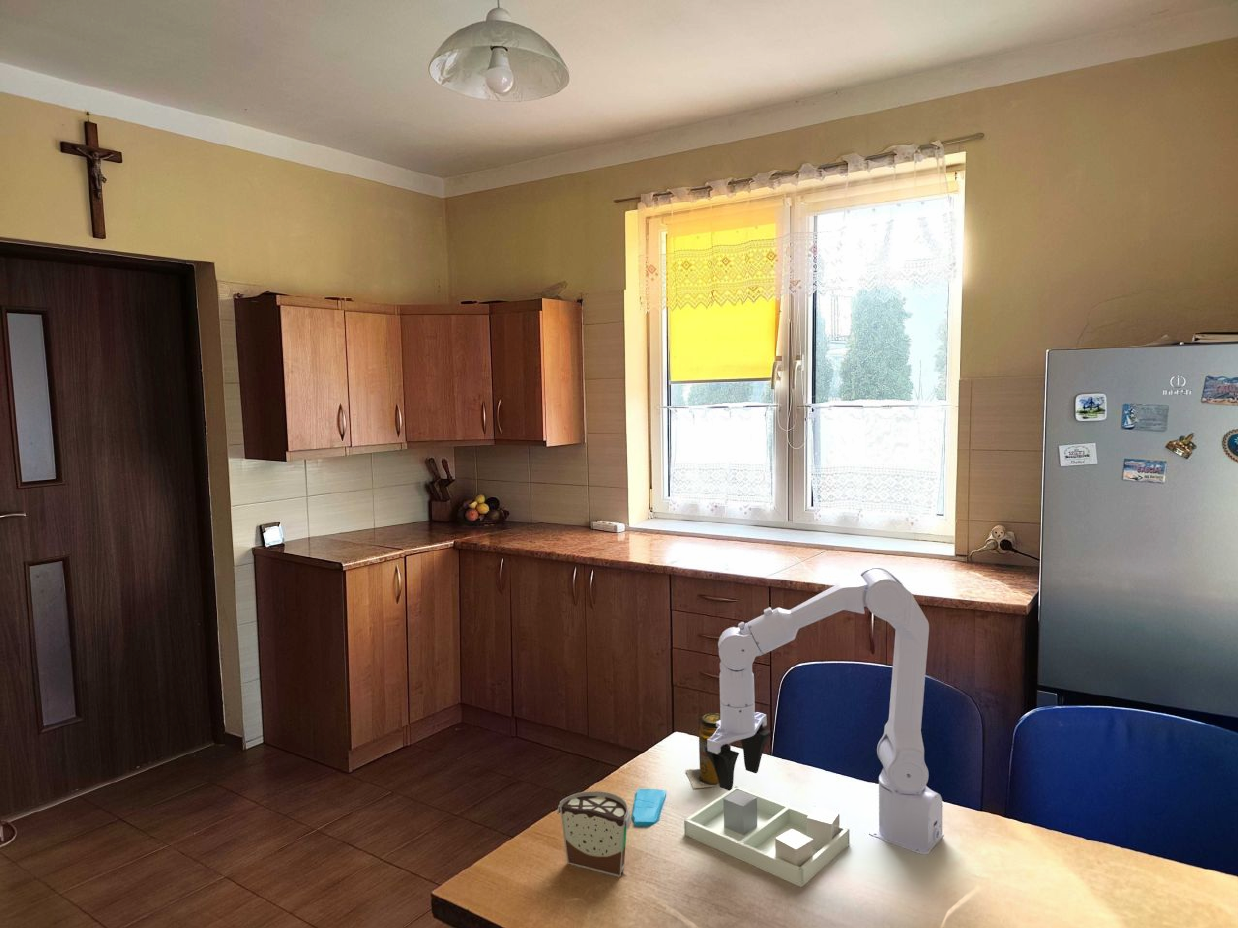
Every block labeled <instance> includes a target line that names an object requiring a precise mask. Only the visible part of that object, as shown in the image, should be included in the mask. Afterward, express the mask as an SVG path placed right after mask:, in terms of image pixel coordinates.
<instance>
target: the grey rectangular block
mask: <svg viewBox="0 0 1238 928" xmlns="http://www.w3.org/2000/svg"><path fill="white" fill-rule="evenodd" d="M756 826H757V797H755V796H752V795H750V794H747V793H745V792H742V791H739V790H736V791H735V792H733V793H732V794H730V795H728V796H727V797H725V798H724V827H725V828H727V829H730V830H732V831H734V832H737V833H739V834H741V835H745V834H747V833H748V832H749V831H751V830H752V829H754V828H755V827H756Z"/></svg>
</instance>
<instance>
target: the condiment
mask: <svg viewBox="0 0 1238 928" xmlns="http://www.w3.org/2000/svg"><path fill="white" fill-rule="evenodd" d="M719 720H721V717H720V713H717V712H715V713H714V712H712V713H706V714H704V715H702V717H701V718H700V730H699V731H698V732H699V733H698V749H699V752H698V753H699V755H698V756H699V758H698V759H699V760H698V761H699V768H696V769H690V768H689V769H685V770H684V771H685V773H686V775H687V778H688V780H689V782H690V784H691V786H692V788H693V789H695V790H696V789H702V788H703V789H704V788H714V787H715V786H717V785H719V782H718V778H717V775H716V772H715V769H714V766H713V764H712V762H711V760H710V758H709V757H708V755H707V754H706V752H705V745H707V739H709V738H710V737H712V735H713V734H714V733H715V731H716V730H717V728H718V727H717V726H716V722H717V721H719ZM731 744H732V743H730V744H729V748H732V747H731Z"/></svg>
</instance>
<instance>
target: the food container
mask: <svg viewBox="0 0 1238 928" xmlns="http://www.w3.org/2000/svg"><path fill="white" fill-rule="evenodd" d="M559 814H560V818H561V819H560V820H561V826H562V832H563V840H564V841H563V842H564V848H565V849H564V850H565V855H566V864H567V865H570V864H571V866H574V865H575V867H579V868H584V869H586V870H590V871H595V872H599V873H603V874H607V875H611V876H615V877H618V878H622V876H623V874H624V870H625V858H626V857H625V856H626V843H627V831H628V830H629V829H630V827H631V824H632V814H631V812H630V808H629V806H628V804H627V802H626V801H625V800H624V799H623V798H622V797H621V796H618V795H617V794H615V793H611V792H608V791H602V790H601V791H599V790H591V791H588V790H587V791H582V792H577V793H574V794H571V795H569V796H567V797H565V798H562V800H560V801H559V805H558V806H557V815H559Z"/></svg>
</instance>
